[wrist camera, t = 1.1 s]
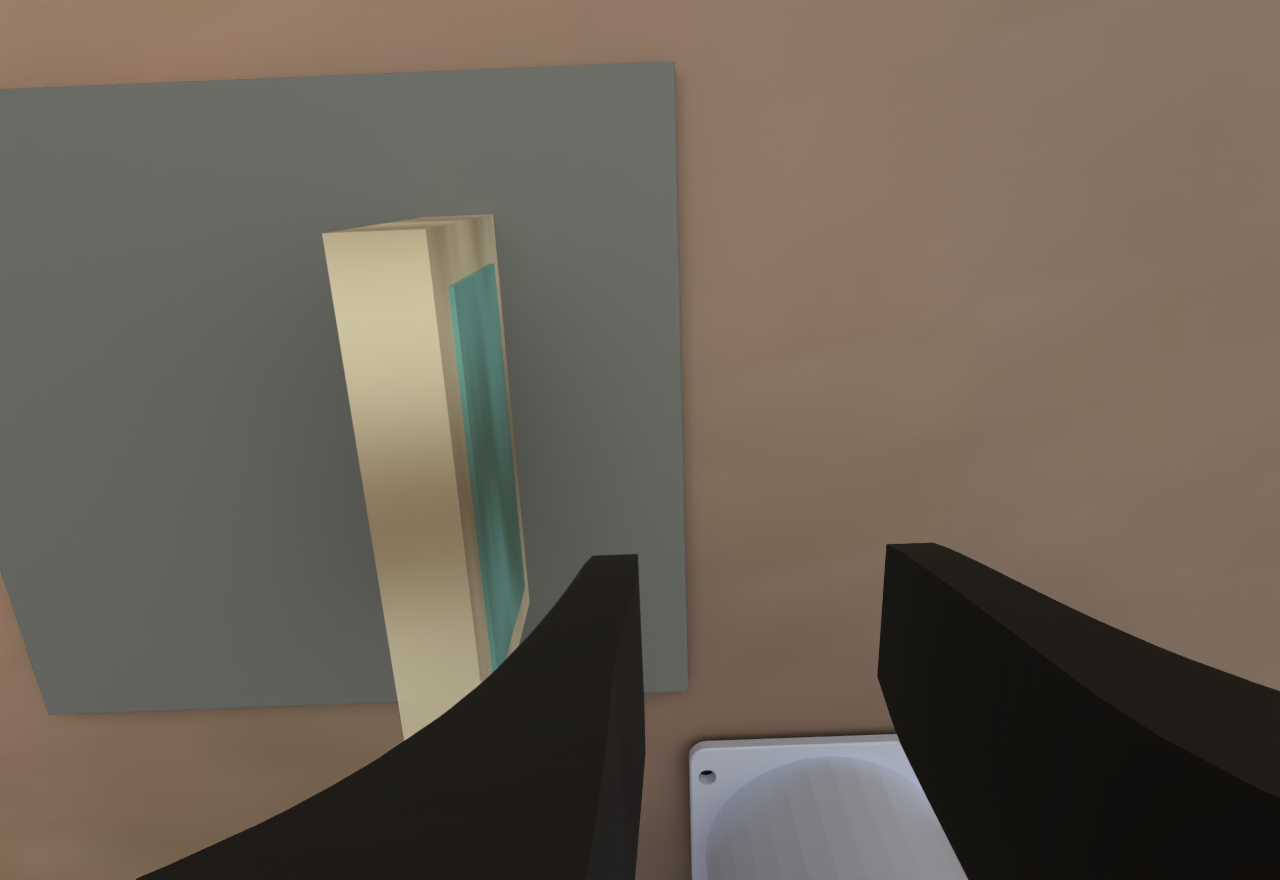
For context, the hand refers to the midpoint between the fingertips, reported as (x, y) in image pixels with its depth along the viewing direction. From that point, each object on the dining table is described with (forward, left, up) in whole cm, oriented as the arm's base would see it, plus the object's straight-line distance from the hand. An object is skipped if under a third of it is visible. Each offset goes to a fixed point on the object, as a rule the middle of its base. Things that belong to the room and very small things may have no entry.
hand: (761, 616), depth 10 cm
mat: (0, +9, -10) cm, 14 cm away
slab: (0, +5, -9) cm, 11 cm away
